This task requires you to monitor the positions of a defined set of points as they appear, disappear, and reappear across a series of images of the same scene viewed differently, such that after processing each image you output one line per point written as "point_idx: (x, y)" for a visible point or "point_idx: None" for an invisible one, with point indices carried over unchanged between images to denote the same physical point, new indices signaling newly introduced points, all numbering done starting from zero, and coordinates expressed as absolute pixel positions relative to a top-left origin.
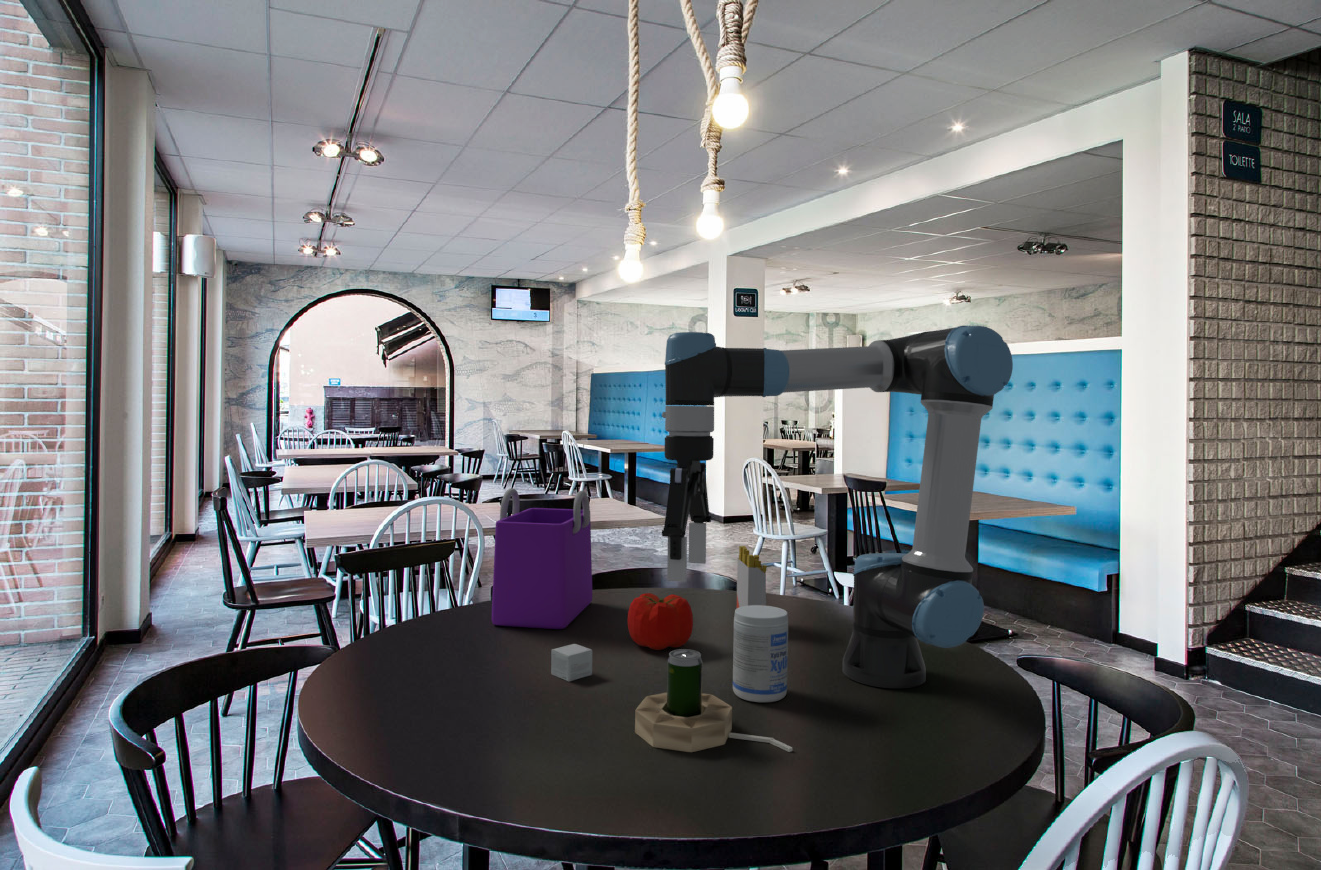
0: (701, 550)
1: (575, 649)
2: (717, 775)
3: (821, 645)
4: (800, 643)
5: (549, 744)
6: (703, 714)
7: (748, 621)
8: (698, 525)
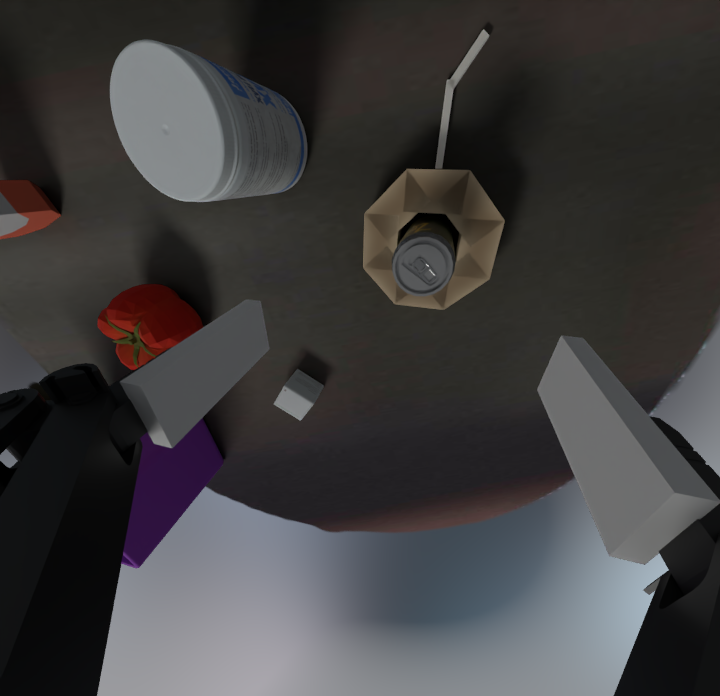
0: (236, 332)
1: (292, 400)
2: (579, 161)
3: (19, 59)
4: (40, 106)
5: (486, 375)
6: (446, 212)
7: (231, 156)
8: (163, 407)
